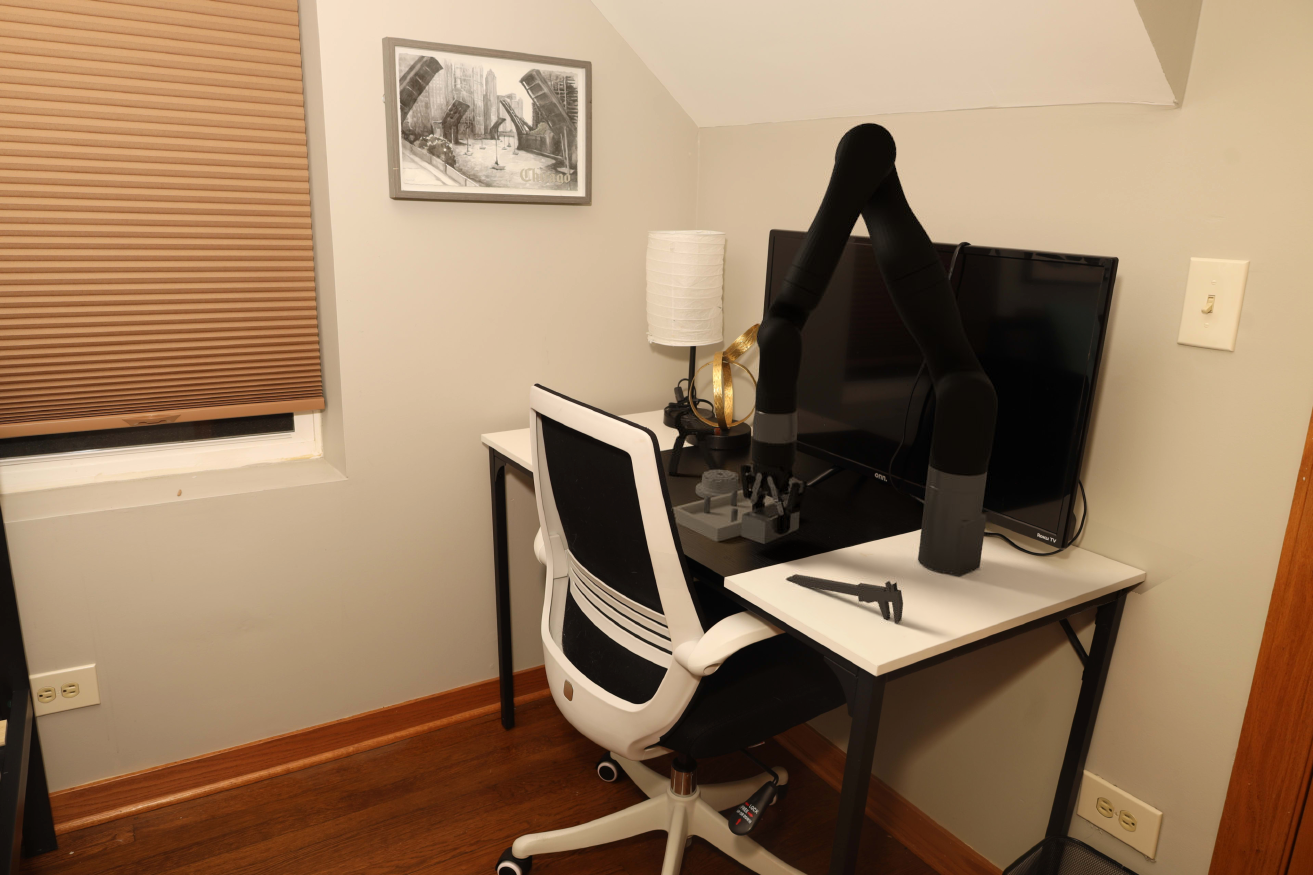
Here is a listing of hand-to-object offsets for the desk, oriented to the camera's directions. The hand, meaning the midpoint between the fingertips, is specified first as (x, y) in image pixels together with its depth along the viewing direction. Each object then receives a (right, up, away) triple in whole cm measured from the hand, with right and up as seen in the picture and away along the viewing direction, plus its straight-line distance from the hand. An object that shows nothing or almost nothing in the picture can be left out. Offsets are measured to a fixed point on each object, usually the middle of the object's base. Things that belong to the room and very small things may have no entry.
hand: (770, 528), depth 153 cm
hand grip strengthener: (-11, +7, +38) cm, 41 cm away
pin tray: (-5, 0, +14) cm, 14 cm away
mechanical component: (-7, +4, +28) cm, 29 cm away
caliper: (+8, -10, -18) cm, 22 cm away
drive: (0, -1, 0) cm, 1 cm away
